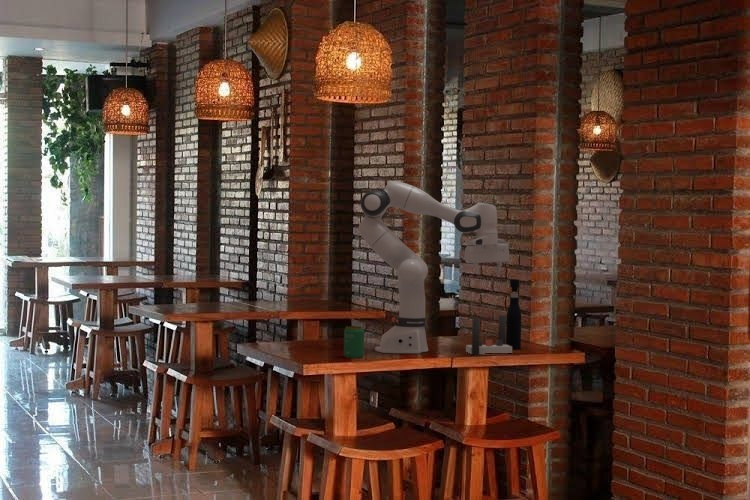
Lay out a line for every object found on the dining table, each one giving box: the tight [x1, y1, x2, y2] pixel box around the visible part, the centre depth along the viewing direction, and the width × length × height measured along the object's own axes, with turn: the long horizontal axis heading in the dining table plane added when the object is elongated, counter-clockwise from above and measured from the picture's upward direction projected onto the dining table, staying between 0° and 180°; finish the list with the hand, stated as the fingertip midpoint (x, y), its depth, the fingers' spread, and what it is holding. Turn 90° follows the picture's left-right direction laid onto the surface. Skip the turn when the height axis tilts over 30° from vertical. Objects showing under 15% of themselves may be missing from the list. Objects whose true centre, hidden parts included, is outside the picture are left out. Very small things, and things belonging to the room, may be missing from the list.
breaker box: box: [465, 344, 513, 355], centre depth 444 cm, size 18×7×3 cm, turn 102°
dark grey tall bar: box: [471, 318, 481, 356], centre depth 436 cm, size 3×3×15 cm
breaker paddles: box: [479, 339, 503, 346], centre depth 444 cm, size 11×1×2 cm, turn 102°
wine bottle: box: [505, 278, 522, 350], centre depth 458 cm, size 6×6×30 cm
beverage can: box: [343, 325, 365, 359], centre depth 425 cm, size 8×8×12 cm
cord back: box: [497, 314, 507, 345], centre depth 452 cm, size 3×3×15 cm
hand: (487, 273), depth 445 cm, fingers open, 8 cm apart
